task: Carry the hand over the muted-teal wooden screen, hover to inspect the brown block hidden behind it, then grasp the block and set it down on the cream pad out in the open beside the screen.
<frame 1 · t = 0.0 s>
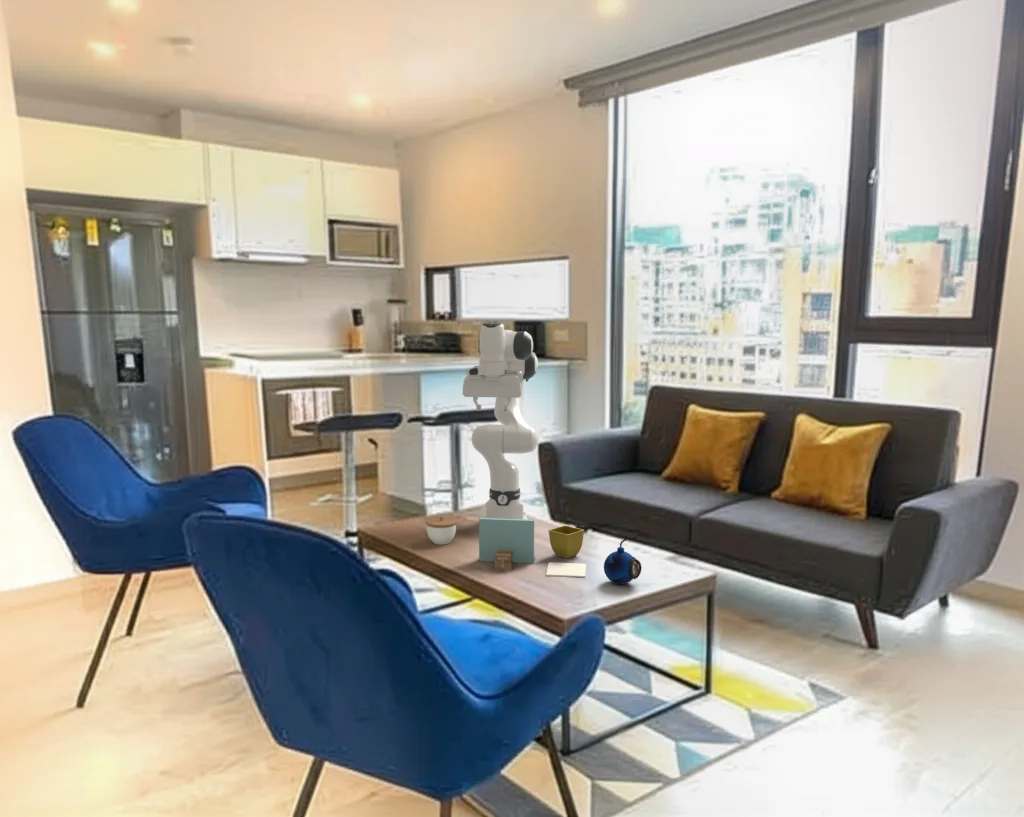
hand: (492, 410, 251), 48 cm above the table, fingers open, 8 cm apart
brown block: (503, 567, 234), on the table
pad: (566, 570, 232), on the table
lidded jar: (441, 542, 262), on the table
screen: (506, 561, 240), on the table
bomb: (621, 584, 219), on the table
flower pot: (566, 556, 246), on the table
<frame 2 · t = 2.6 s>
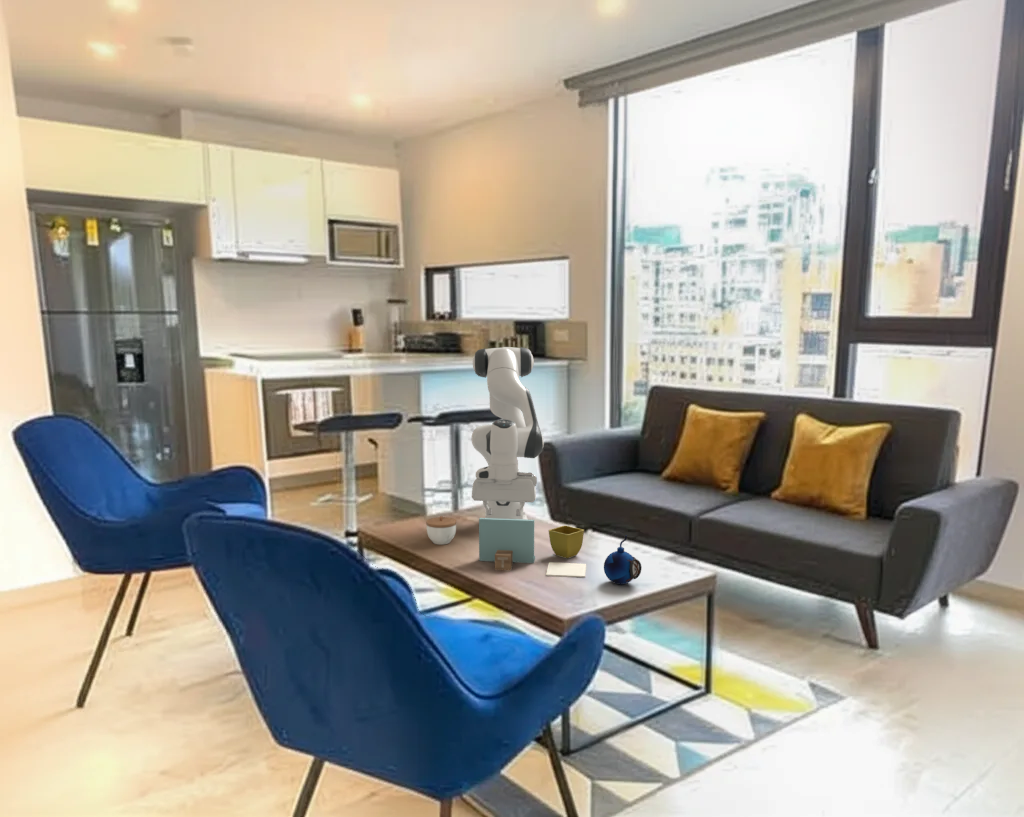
hand: (503, 514, 232), 17 cm above the table, fingers open, 8 cm apart
nothing on the table moved.
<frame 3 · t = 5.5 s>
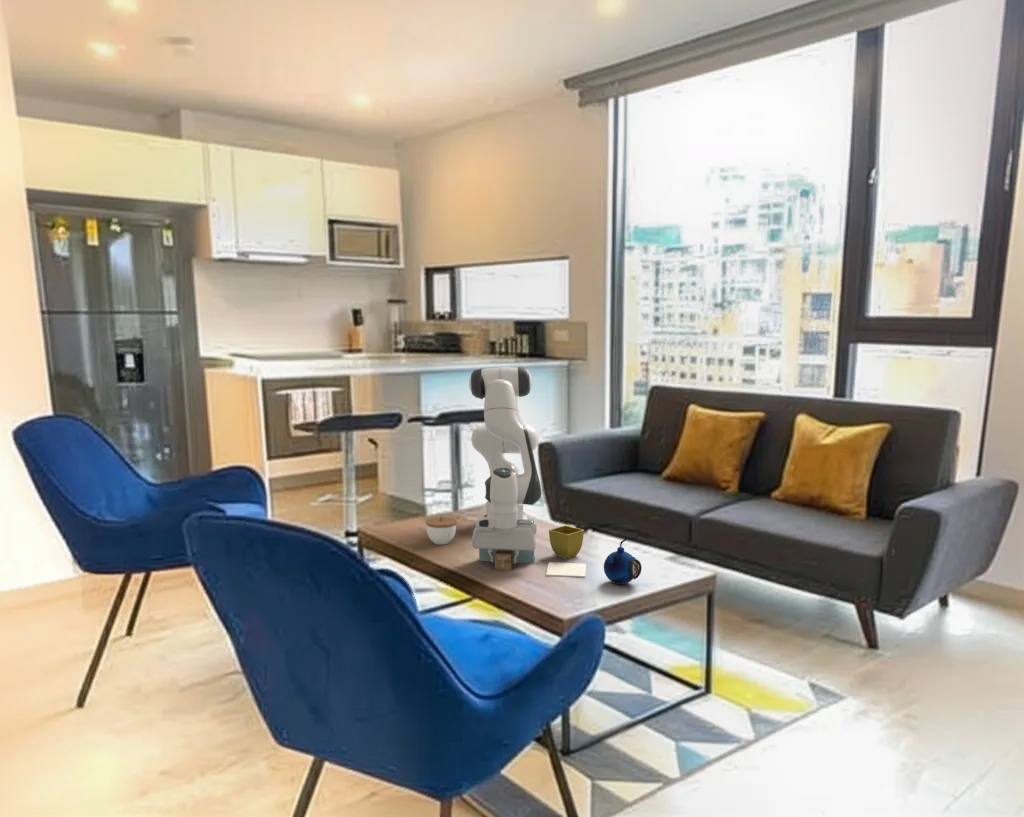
hand: (503, 562, 234), 2 cm above the table, fingers closed on brown block, 5 cm apart
brown block: (503, 567, 234), on the table, touching gripper
everything else where it was.
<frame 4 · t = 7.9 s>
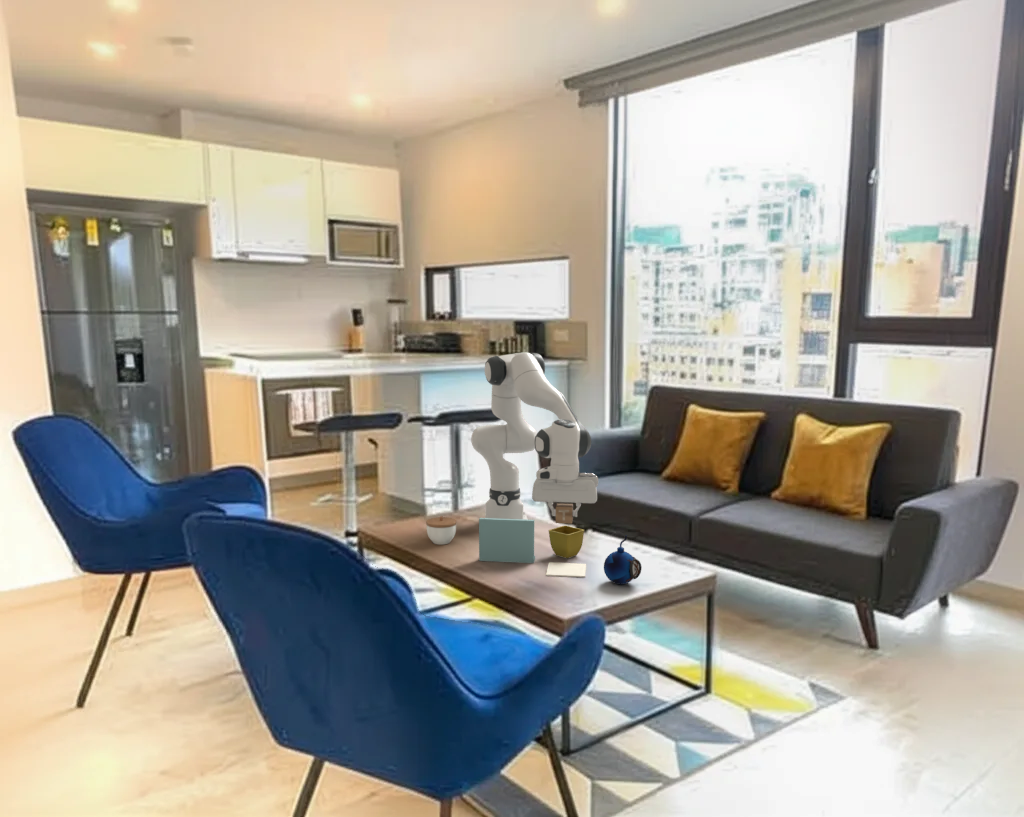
hand: (564, 516, 229), 18 cm above the table, fingers closed on brown block, 5 cm apart
brown block: (564, 521, 230), point 16 cm above the table, touching gripper
everything else where it was.
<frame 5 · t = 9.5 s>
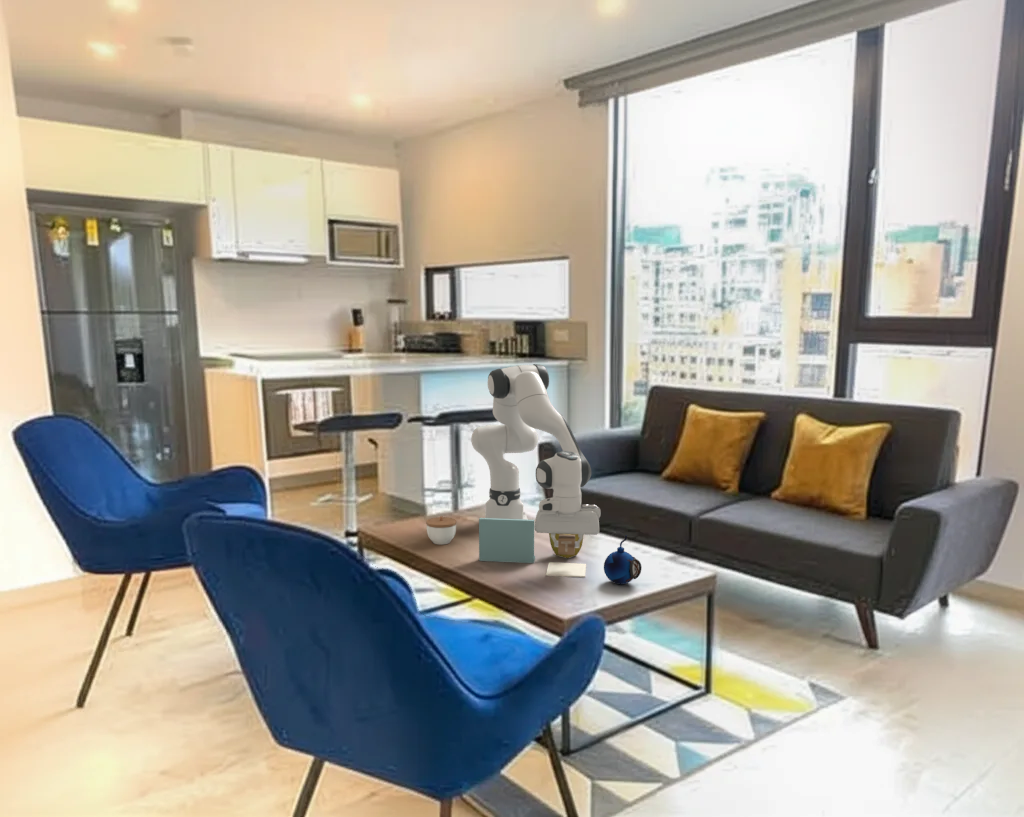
hand: (566, 547, 231), 8 cm above the table, fingers closed on brown block, 5 cm apart
brown block: (566, 552, 231), point 6 cm above the table, touching gripper
everything else where it was.
when the fingers open (4 cm above the table, at t = 10.6 s): brown block drops 2 cm, resting on pad.
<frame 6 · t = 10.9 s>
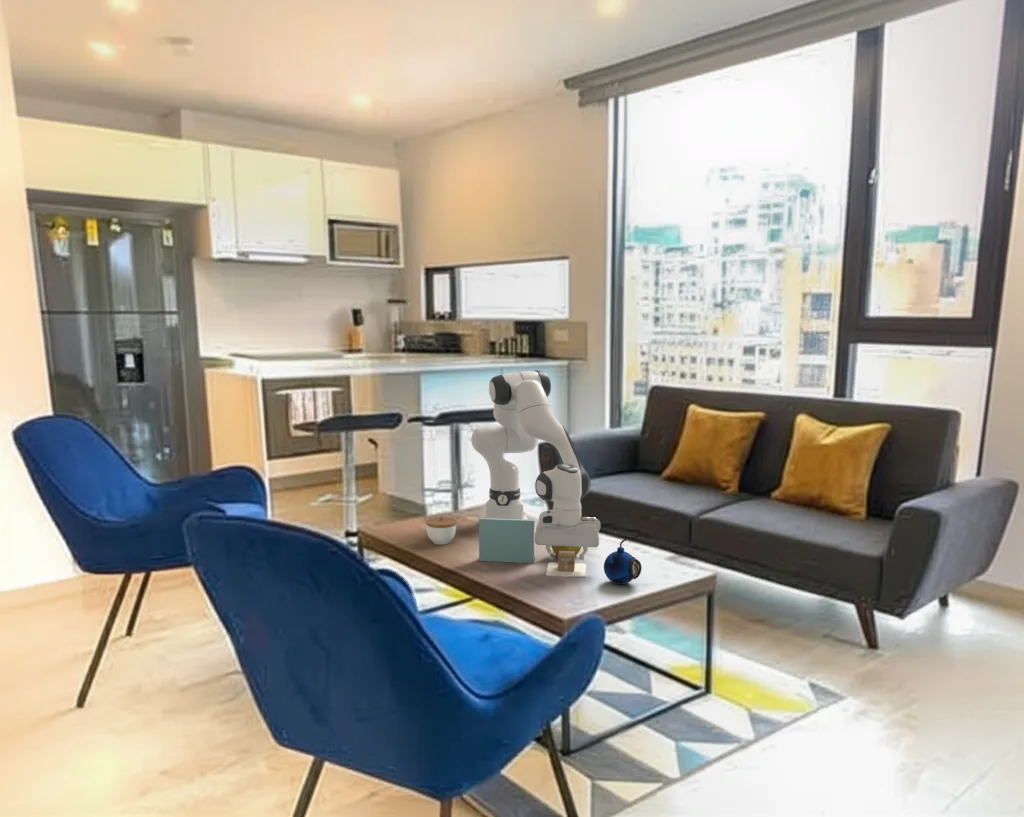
hand: (566, 559, 231), 4 cm above the table, fingers open, 8 cm apart
brown block: (566, 569, 231), resting on pad
everything else where it was.
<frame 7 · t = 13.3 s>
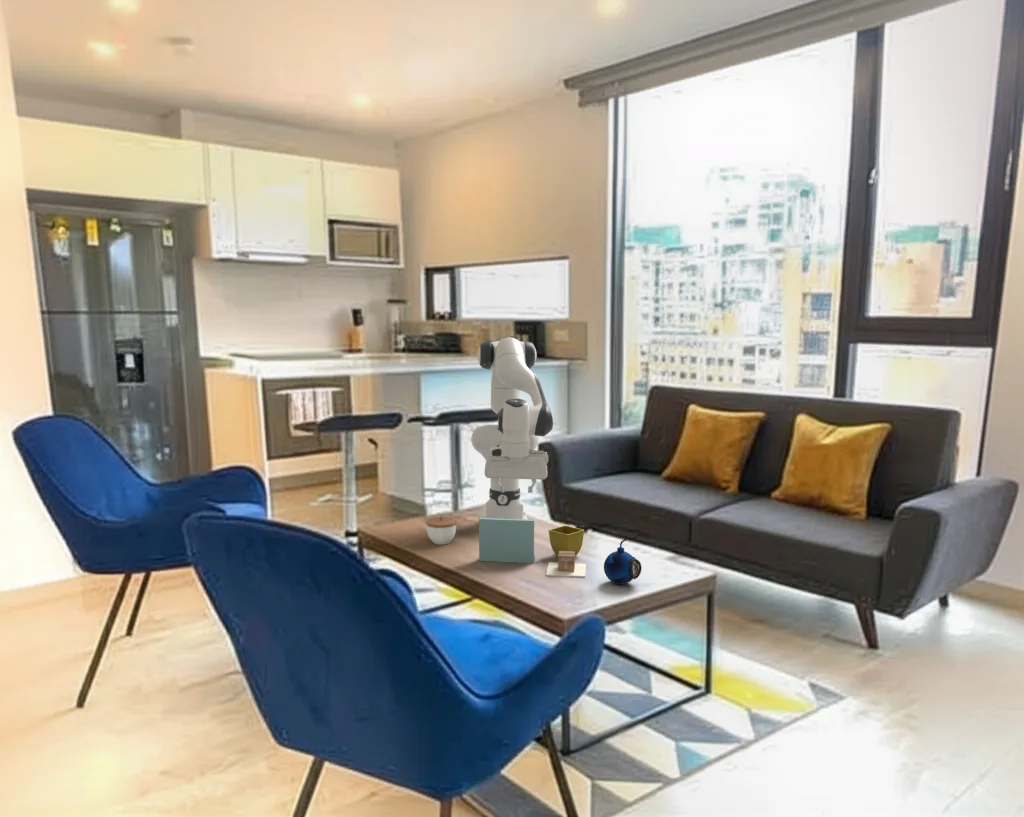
hand: (515, 491, 238), 23 cm above the table, fingers open, 8 cm apart
nothing on the table moved.
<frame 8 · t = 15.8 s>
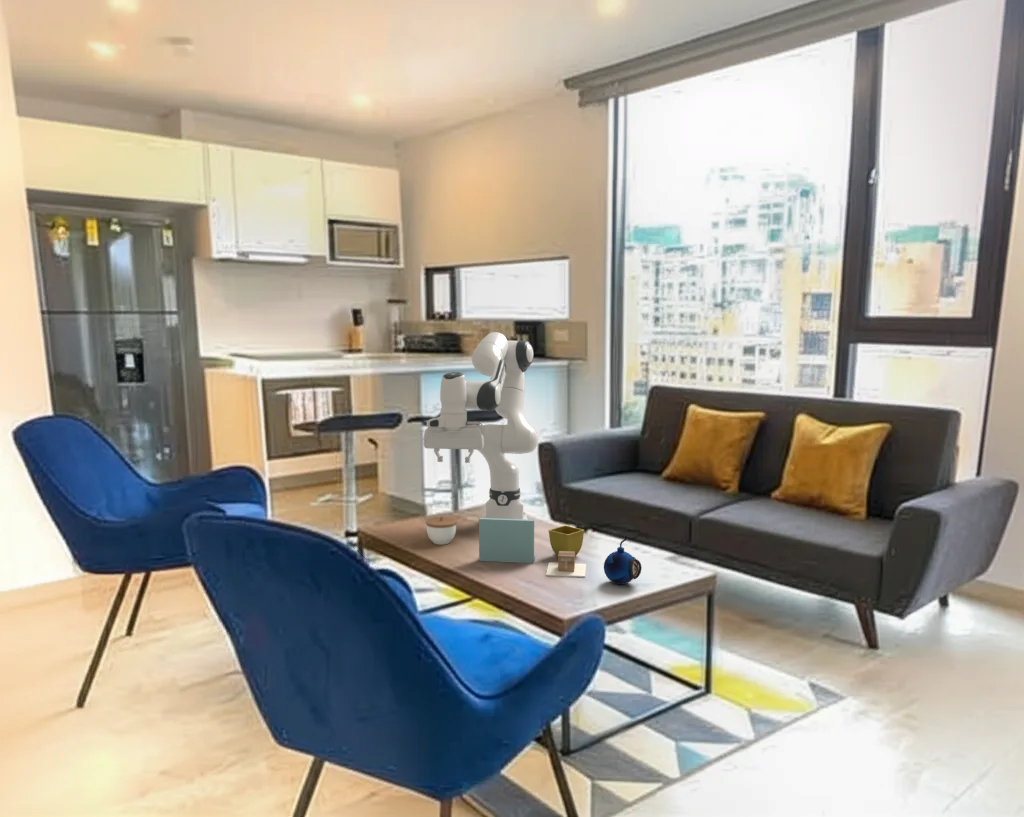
hand: (453, 462, 247), 31 cm above the table, fingers open, 8 cm apart
nothing on the table moved.
at the end: brown block inside the target area on the pad (0.0 cm from its centre), point 0.4 cm above the pad's base; brown block tilted 0°; the gripper is holding nothing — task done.
